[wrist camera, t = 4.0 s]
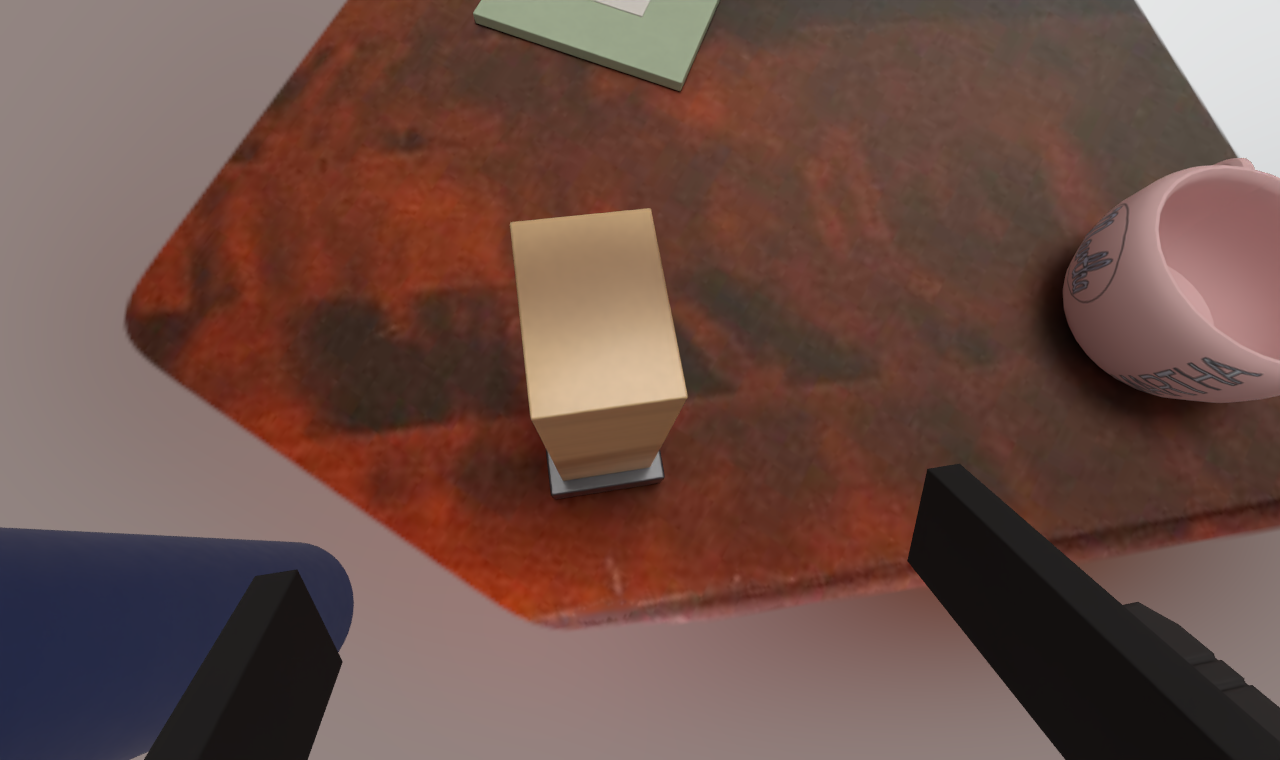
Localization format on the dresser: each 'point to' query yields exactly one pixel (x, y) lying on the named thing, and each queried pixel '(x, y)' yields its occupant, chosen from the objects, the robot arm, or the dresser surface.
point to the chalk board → (611, 31)
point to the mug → (1185, 286)
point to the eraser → (597, 348)
